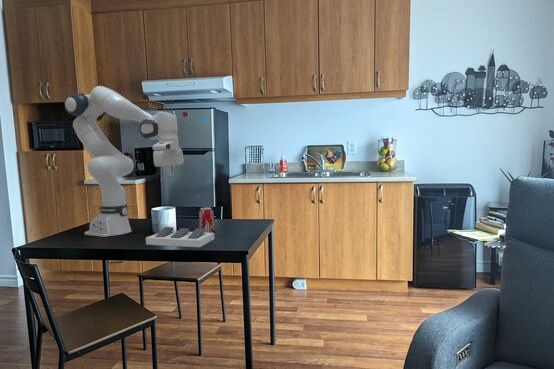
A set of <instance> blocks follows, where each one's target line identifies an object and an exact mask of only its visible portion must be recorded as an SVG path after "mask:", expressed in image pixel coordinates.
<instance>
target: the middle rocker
mask: <svg viewBox="0 0 554 369" xmlns="http://www.w3.org/2000/svg"><path fill="white" fill-rule="evenodd" d="M176 231H177V232H176V233H175V234H173V235H172V236H171V238H181V237H183V236H185V235H186V234H187V233H188V232H190V229H189V228H188V227H187V228H185V227H180V228H179V229H178V230H176Z"/></svg>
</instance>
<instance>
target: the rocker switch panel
mask: <svg viewBox="0 0 554 369" xmlns="http://www.w3.org/2000/svg"><path fill="white" fill-rule="evenodd" d="M177 231H178V230H173V231H172V232H171V233H170V234H169V235H168V236H165V237H155V236H156V235H157V234H158V233H159V232H157V233H155V234H152V235H150V236H146V237H145V245H146V246H147V245H149V246H150V245H151V246H165V247H166V246H169V247H186V248H201V247H203V246H205V245H207V244H209V243H211V242H212V241H214V240H215V233H214V232H211V233H205V232H204V234H203V235H202V236H201V237H199V238H197V239H187V238H188V237H189V236H190V235H191V234H192V232H193V231H189V232H188V233H187V234H186V235H185V236H183V237H181V238H171V236H172V235H173V234H175V233H176V232H177Z"/></svg>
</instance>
